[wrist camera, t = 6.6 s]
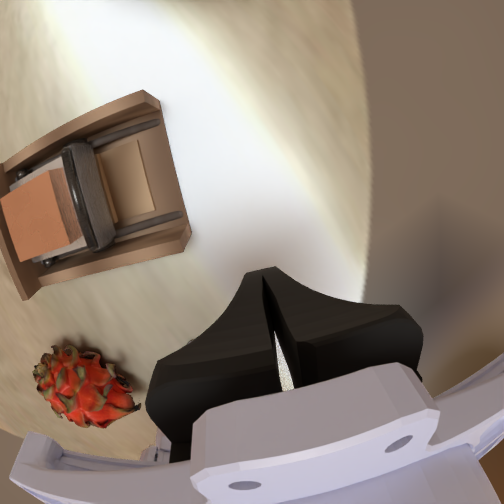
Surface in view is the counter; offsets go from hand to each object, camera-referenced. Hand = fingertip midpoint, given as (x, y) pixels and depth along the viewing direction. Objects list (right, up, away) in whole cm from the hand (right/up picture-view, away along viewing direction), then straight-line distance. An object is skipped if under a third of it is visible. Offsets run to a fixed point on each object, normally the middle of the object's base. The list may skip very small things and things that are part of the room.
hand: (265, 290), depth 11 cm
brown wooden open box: (-12, +6, +7) cm, 15 cm away
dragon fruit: (-17, -10, +13) cm, 24 cm away
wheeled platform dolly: (-14, +5, +5) cm, 16 cm away
